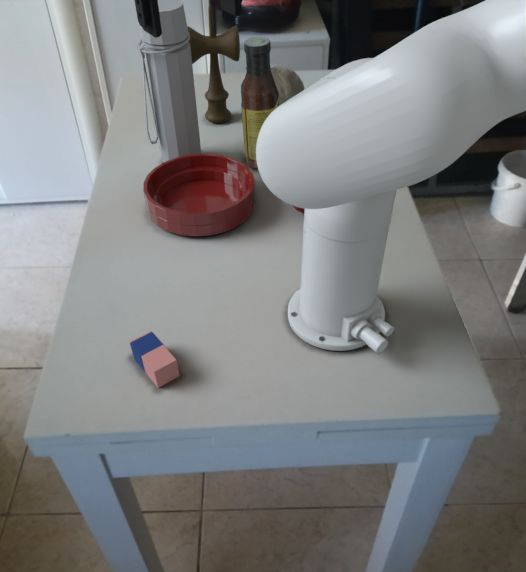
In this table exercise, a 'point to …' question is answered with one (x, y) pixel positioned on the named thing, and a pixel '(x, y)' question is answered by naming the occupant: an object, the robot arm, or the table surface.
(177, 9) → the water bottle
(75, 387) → the table surface
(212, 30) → the kendama
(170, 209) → the bowl
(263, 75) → the sauce bottle
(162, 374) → the eraser
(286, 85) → the garlic bulb
